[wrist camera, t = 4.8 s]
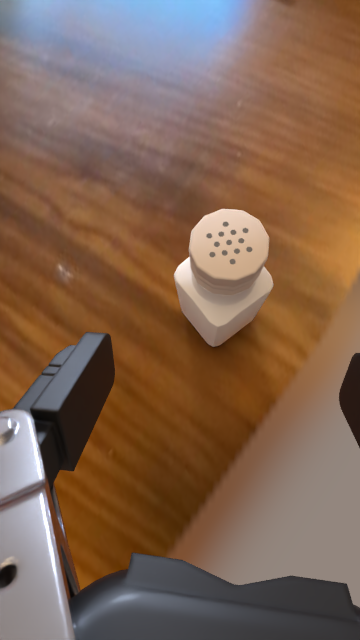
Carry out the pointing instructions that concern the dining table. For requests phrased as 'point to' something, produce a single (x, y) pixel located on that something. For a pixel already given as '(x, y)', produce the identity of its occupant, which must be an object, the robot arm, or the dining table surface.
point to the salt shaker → (224, 274)
